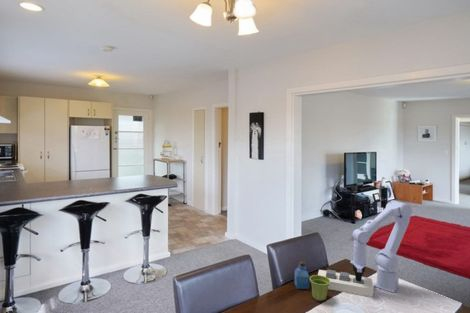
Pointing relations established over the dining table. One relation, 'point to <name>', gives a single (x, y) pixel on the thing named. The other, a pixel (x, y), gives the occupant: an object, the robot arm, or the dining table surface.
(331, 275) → the button
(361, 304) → the dining table surface
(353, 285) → the button panel
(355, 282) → the button
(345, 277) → the button middle
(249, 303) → the dining table surface
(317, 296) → the plant pot
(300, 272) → the perfume bottle
